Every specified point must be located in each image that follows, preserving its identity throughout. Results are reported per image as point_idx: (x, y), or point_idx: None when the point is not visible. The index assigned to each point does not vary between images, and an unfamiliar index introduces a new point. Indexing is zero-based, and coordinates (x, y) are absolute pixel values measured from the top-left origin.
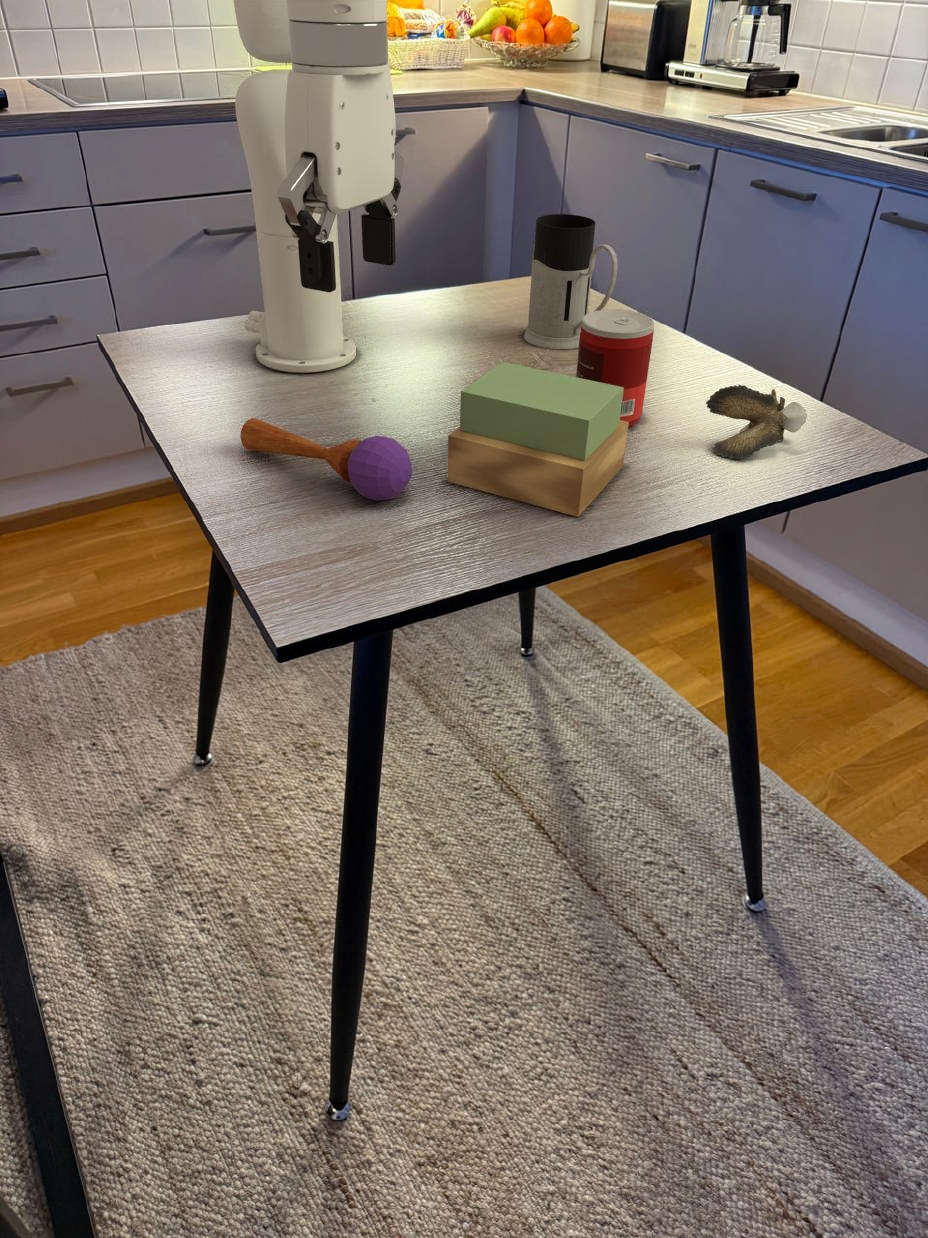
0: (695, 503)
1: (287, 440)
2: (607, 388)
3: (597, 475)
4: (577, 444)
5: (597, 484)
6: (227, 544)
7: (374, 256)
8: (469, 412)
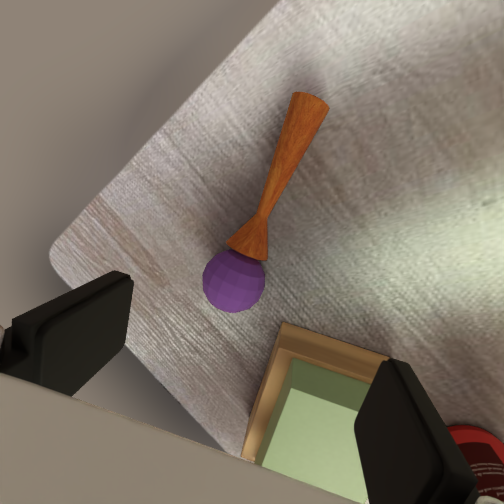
0: None
1: (274, 164)
2: None
3: None
4: None
5: None
6: (128, 169)
7: (371, 398)
8: (288, 381)
